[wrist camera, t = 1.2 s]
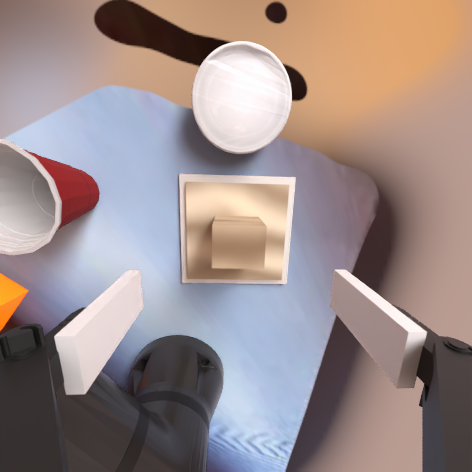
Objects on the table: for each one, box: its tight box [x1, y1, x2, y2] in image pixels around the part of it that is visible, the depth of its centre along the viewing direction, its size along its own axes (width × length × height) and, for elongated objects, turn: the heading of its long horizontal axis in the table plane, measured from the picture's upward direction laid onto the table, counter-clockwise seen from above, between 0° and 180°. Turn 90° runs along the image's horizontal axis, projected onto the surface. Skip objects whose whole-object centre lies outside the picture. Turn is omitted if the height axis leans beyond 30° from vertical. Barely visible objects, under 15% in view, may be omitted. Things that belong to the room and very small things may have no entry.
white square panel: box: [179, 174, 296, 284], centre depth 33 cm, size 16×16×1 cm
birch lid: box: [186, 182, 289, 280], centre depth 29 cm, size 14×14×8 cm
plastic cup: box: [0, 139, 99, 255], centre depth 26 cm, size 11×11×12 cm
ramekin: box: [192, 41, 292, 154], centre depth 28 cm, size 11×11×5 cm
